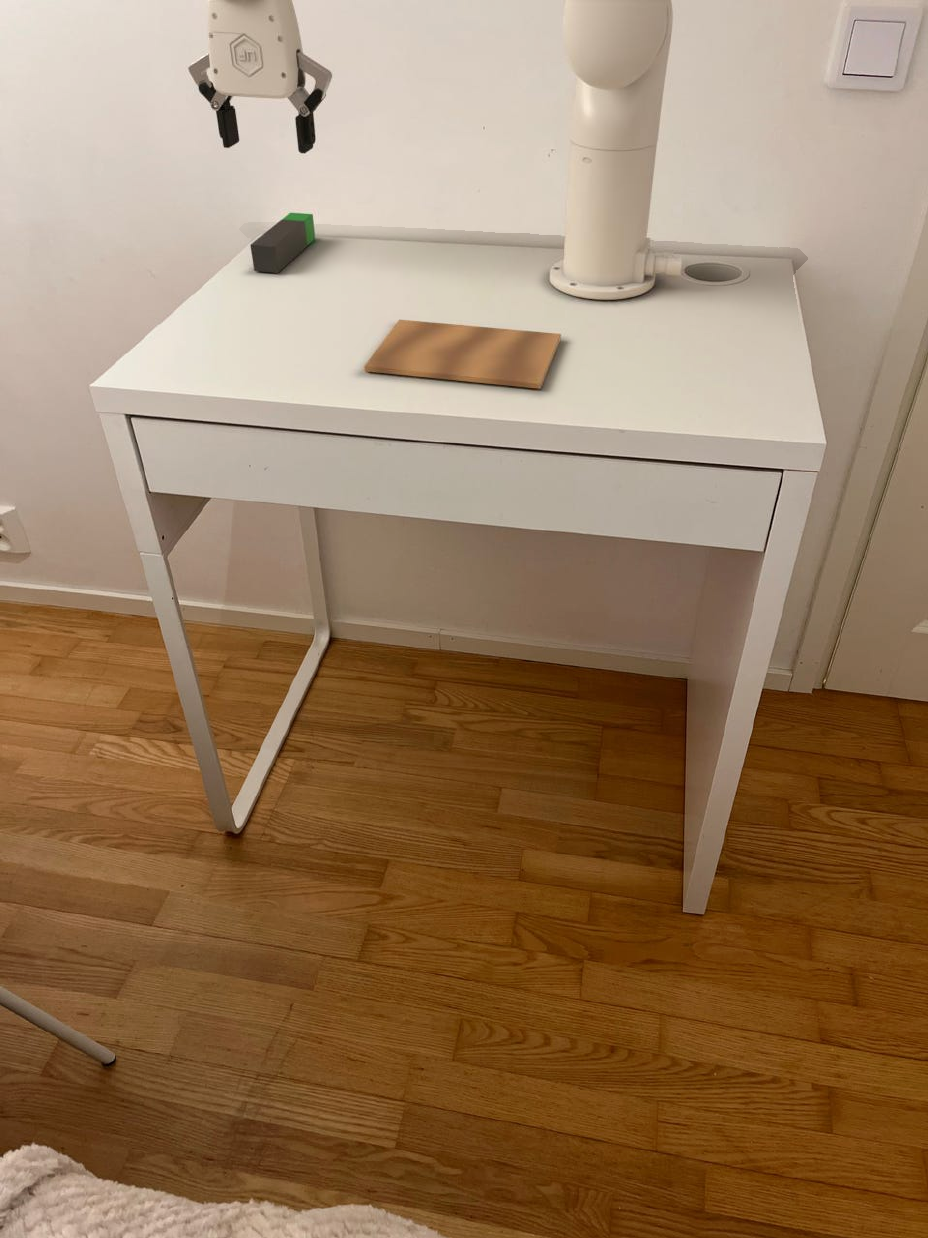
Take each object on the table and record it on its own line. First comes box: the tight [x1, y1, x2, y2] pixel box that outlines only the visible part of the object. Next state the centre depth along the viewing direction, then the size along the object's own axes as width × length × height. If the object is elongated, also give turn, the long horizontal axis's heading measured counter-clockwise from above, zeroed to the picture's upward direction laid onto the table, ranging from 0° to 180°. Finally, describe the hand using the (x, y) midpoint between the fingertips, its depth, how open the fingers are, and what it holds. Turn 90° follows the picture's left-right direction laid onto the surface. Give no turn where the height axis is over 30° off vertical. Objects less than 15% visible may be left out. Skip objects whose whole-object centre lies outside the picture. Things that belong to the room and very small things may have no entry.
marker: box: [250, 212, 316, 274], centre depth 120 cm, size 13×3×3 cm, turn 166°
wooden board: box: [364, 319, 562, 390], centre depth 97 cm, size 18×12×1 cm, turn 76°
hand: (268, 147), depth 113 cm, fingers open, 9 cm apart
